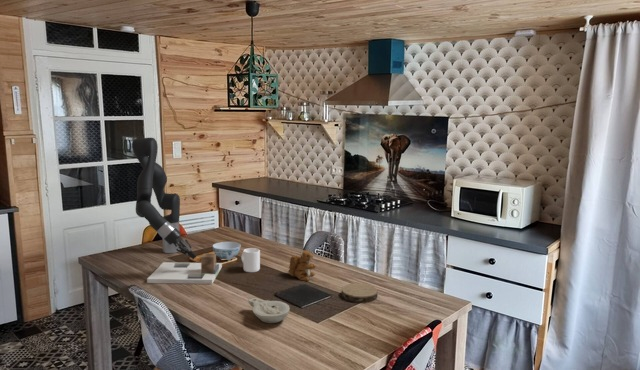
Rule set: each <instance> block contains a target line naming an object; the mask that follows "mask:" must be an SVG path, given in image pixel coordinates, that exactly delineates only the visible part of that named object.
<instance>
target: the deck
mask: <svg viewBox="0 0 640 370" xmlns="http://www.w3.org/2000/svg"><path fill="white" fill-rule="evenodd" d="M222 267H223V263H222V262H216V267H215V268H214V270H213V274H205V275H204V276H203V277H201V262H176V261H175V262H171V261H170V262H169V261H167V262H166V261H163V262H162V263H161V264H160V265H159V266H158V267H157V268H156V269H155V270H154V271H153V273H151V274H150V275H149V276H148V277H147V278H146V284H181V285H182V284H184V285H186V284H191V285H213V283H214V281H215V280H216V278H215V274H216V272H217V271H218V269H219V272H220V271H221V270H222Z"/></svg>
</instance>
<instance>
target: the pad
mask: <svg viewBox="0 0 640 370" xmlns="http://www.w3.org/2000/svg"><path fill="white" fill-rule="evenodd" d="M219 273H220V271H219V269H218V271H217V272H216V274H215V279H216V278H217V277H218V275H219ZM205 274H213V273H201V277H203V276H204V275H205Z"/></svg>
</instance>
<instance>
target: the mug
mask: <svg viewBox="0 0 640 370" xmlns="http://www.w3.org/2000/svg"><path fill="white" fill-rule="evenodd" d="M240 259H241V262H242V264H243V266H242V267H243V271H244V272H246V273H256V272H259V271H260V270H261V250H260V249H259V248H255V247H253V248H252V247H251V248H244V249H243V251H242V253H241V255H240Z"/></svg>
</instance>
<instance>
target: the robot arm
mask: <svg viewBox="0 0 640 370" xmlns="http://www.w3.org/2000/svg"><path fill="white" fill-rule="evenodd" d="M131 148H132V151H133V154H134V156H135V157H136V159H137V161H138V162H139V164H140V166H141V167H142V170H141V172H140V173H139V175H138V177H137V180H136V181H137V183H136V200H135V201H136V203H135V214H136V215H137V216H138V217H139V218H144V219H145V220H146V221H147V222H148V223H149V226H151V228H152V229H154V230H155V232H157V234H158V235H159V236H160V238H162V252H163V253H165V254H175V253H181V254H183V255H185V256H186V255H188V257H190V258H191V259H192V260H194V259H196V258H197V254H196V253H195V252H194V251H193V250H192V246H191V245H190V242H189V241H188V240H187V239H184V238H183V237H181V236H182V233H181V232H180V213H181V208H180V207H181V203H180V202H181V198H180V196H179V194H178V193H166V192H165V191H164V190H165V189H164V188H165V187H166V185H167V182H168V176H167V174H166V171H165V169H164V167H162V166H161V165H160V164H159V163H158V162H157V157H158V148H159V147H158V143H157V140H156V138H155V137H139V138H134V139H133V141H132V142H131ZM153 193H154V194H155V198H156V201H157V204H158V206H159V208H160V209H161V210H164V211H165V210H166V211H170V213H169V214H166V215H164V216H163V215H162V214H161V213H160V212H159V210H158V209H157V208H156V207H155V206H154V205H153V204H152V196H153Z"/></svg>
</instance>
